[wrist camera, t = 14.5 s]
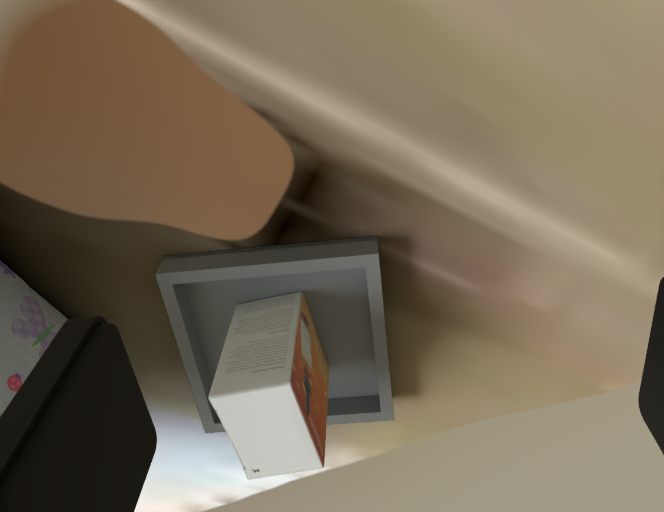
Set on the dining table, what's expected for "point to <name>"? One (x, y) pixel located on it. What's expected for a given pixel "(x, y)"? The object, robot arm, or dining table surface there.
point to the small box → (273, 387)
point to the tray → (276, 280)
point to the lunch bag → (22, 332)
